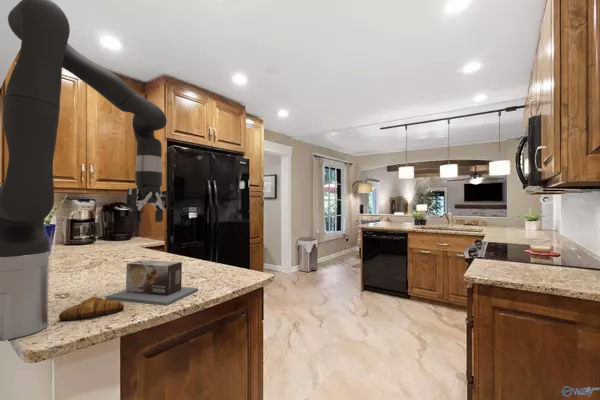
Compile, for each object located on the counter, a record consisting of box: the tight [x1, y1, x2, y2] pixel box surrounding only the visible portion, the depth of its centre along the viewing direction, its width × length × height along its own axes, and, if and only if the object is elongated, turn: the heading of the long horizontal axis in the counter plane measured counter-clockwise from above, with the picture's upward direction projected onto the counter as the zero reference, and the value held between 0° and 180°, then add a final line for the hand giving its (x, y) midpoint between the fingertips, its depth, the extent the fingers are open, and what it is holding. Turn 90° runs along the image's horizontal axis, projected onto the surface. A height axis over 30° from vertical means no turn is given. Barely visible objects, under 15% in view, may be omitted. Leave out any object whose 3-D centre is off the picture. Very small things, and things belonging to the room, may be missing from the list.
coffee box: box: [125, 259, 183, 296], centre depth 90 cm, size 9×6×16 cm
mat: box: [105, 286, 199, 306], centre depth 88 cm, size 14×22×1 cm, turn 74°
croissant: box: [58, 296, 125, 321], centre depth 72 cm, size 14×7×5 cm, turn 120°
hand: (148, 222), depth 89 cm, fingers open, 8 cm apart
